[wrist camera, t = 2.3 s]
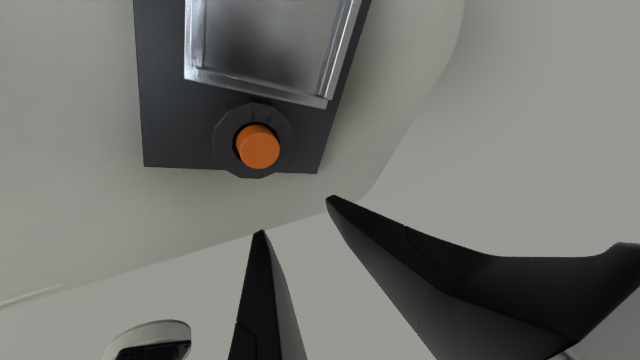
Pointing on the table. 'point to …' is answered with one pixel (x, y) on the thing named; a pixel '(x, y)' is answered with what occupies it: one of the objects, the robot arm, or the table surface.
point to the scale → (218, 105)
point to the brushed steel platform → (269, 46)
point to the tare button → (257, 146)
